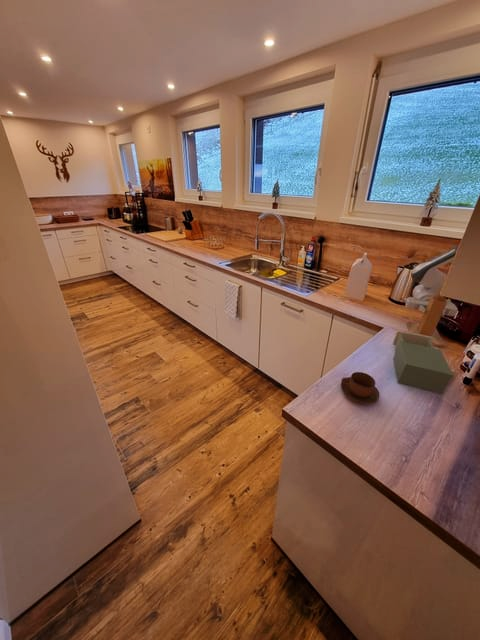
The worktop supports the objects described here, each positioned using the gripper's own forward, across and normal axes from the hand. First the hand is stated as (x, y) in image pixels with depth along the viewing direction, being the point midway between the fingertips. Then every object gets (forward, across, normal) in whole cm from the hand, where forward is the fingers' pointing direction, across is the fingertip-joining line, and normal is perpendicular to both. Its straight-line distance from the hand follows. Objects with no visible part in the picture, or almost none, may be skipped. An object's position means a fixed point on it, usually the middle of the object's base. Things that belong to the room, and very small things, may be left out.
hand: (433, 313), depth 117 cm
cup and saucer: (+53, -29, +12) cm, 62 cm away
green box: (+34, -9, +12) cm, 37 cm away
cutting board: (-1, 0, +12) cm, 12 cm away
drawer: (+20, -9, +11) cm, 25 cm away
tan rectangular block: (-1, 0, +10) cm, 11 cm away
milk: (-38, -31, +12) cm, 50 cm away
